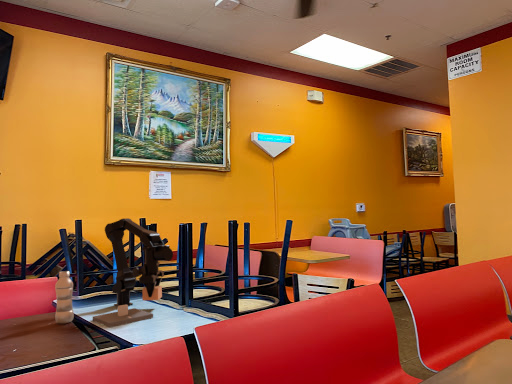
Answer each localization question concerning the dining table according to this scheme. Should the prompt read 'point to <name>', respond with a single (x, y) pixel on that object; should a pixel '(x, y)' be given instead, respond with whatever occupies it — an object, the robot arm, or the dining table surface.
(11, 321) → the dining table surface
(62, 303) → the plastic bottle
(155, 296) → the orange block
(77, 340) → the dining table surface
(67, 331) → the dining table surface
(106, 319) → the panel
